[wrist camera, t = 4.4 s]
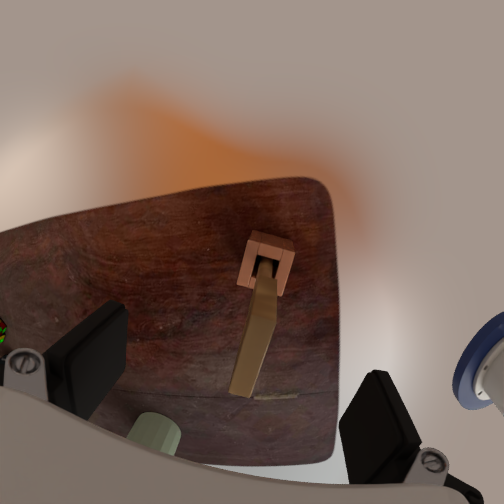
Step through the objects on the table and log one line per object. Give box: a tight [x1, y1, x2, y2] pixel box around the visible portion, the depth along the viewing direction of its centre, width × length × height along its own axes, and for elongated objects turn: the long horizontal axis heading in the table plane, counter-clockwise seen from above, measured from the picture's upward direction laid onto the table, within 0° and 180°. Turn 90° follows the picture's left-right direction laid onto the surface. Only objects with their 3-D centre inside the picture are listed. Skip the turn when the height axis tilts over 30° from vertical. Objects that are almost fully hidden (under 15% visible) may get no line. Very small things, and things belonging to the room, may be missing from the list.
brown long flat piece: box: [228, 256, 277, 398], centre depth 20 cm, size 1×4×18 cm, turn 166°
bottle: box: [126, 412, 181, 456], centre depth 28 cm, size 7×7×16 cm
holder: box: [237, 230, 295, 296], centre depth 26 cm, size 4×4×5 cm
